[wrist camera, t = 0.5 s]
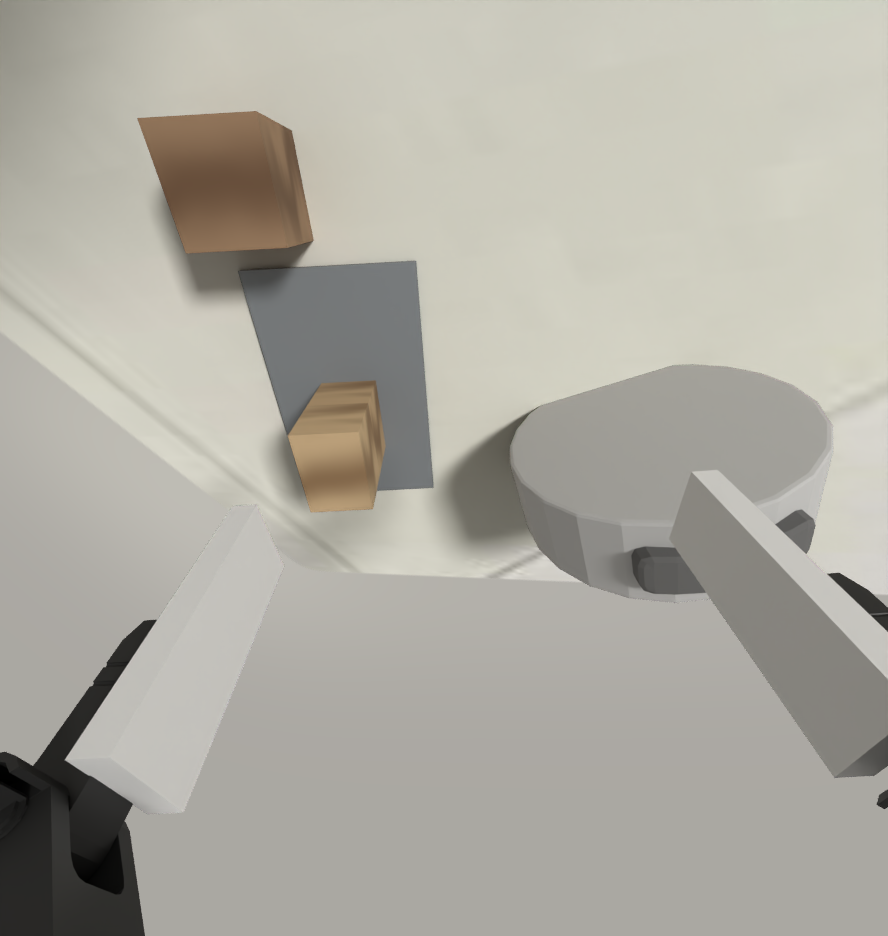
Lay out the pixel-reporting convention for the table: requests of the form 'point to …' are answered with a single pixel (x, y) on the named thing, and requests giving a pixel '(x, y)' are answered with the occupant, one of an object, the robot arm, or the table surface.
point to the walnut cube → (229, 180)
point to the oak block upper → (336, 457)
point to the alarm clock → (664, 470)
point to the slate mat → (349, 349)
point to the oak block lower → (352, 395)
